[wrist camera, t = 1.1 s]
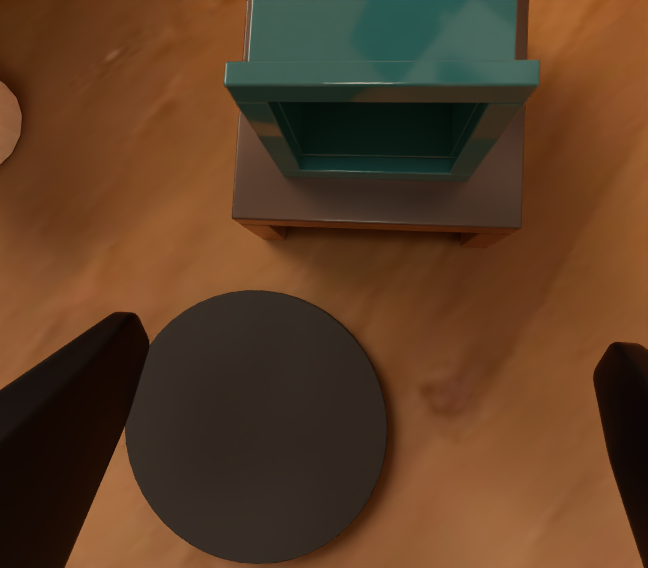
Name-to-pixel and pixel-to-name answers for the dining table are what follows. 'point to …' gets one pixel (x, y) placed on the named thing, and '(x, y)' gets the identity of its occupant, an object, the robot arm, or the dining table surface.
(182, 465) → the mat
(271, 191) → the stand
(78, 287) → the dining table surface
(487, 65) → the teal rimmed box
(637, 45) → the dining table surface
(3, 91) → the white cup
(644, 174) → the dining table surface
